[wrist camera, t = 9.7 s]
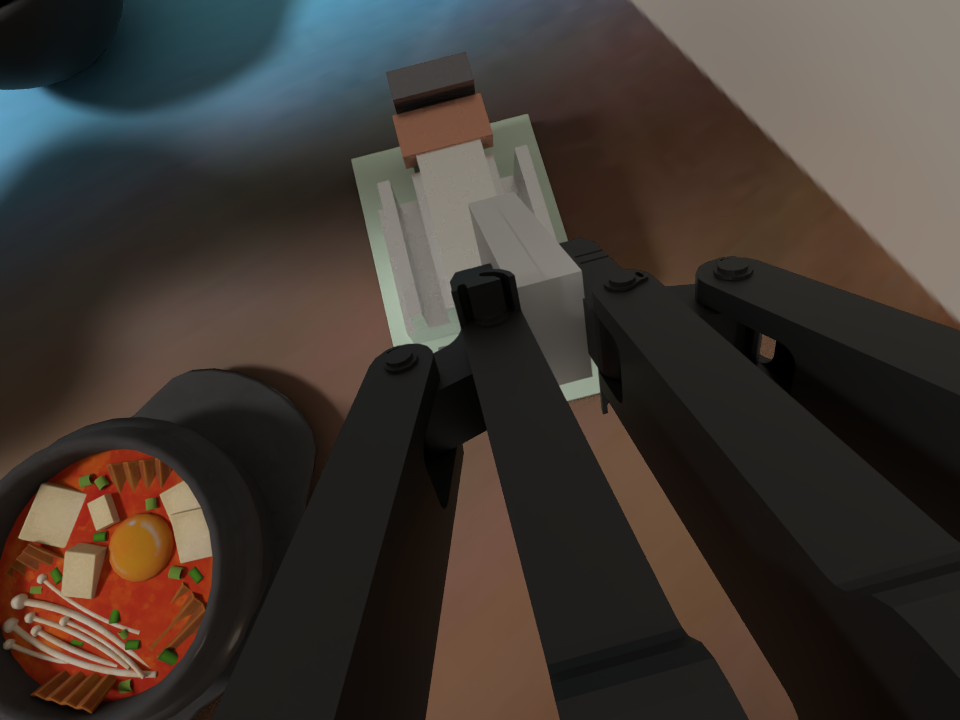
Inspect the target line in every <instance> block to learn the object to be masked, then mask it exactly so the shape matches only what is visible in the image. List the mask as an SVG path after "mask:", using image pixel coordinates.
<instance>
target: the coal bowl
mask: <svg viewBox="0 0 960 720" xmlns="http://www.w3.org/2000/svg"><path fill="white" fill-rule="evenodd" d="M122 8H123V0H0V90H15V89H30V88H36V87H42V86H47V85H51V84H54V83H57V82H60V81H63V80H65V79H68V78H70V77H72V76H74V75H76V74H77V73H79V72H81V71H82V70H84V69H85V68H87V67H88V66H89V65H91V64H92V63H93V62H94V61H95V60H96V59H97V58H98V57H99V56H100V55H101V54H102V53H103V51H104V50H105V49H106V47H107V46H108V44H109V43H110V41H111V40H112V38H113V36H114V34H115V32H116V29H117V26H118V23H119V20H120V17H121V13H122Z"/></svg>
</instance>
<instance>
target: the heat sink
mask: <svg viewBox="0 0 960 720" xmlns="http://www.w3.org/2000/svg"><path fill="white" fill-rule="evenodd" d="M386 74H387V78H388V82H389V86H390V90H391V94H392V98H393V102H394V105H395V108H396V112H397V114H401V113H404V112H408V111H412V110H416V109H420V108H424V107H428V106H432V105H436V104H439V103H443V102H447V101H451V100H455V99H459V98H463V97H467V96H471V95H474V94H475V89H474V78H473V75H472V71H471V68H470V65H469V61H468V58H467V55H466V52H463V53H459V54H455V55H451V56H448V57H444V58H440V59H436V60H432V61H428V62H424V63H420V64H416V65H412V66H409V67H405V68H401V69H397V70H393V71H389V72H386ZM485 157H486V160H487V163H488V167H489V170H490V174H491V177H492V180H493V184H494V187H495V190H496V194H497V196H499V195H503V194H506V193H510V192H515V194H516V195H517V196H518V197H519V198H520V199H521V201H522V202H523V203H524V204H525V205H526V206H527V208H528V209H529V210H530V211H531V212H532V213H533V214H534V216H535V217H536V218H537V219H538V220H539V221H540V223H541V224H542V225H543V226H544V227H545V228H546V230H547V231H548V232H549V233H550V234H551V235H552V237H553V238H554V239H555V240H556V236H555V233H554V230H553V227H552V224H551V220H550V217H549V214H548V211H547V208H546V204H545V201H544V198H543V195H542V192H541V188H540V185H539V182H538V179H537V176H536V172H535V169H534V166H533V163H532V160H531V156H530V153H529V150H528V147H527V145H523V146H519V147H515V148H514V167H513V175H512V176H508V177H504V178H500V177H499V174H498V170H497V167H496V164H495V160H494V157H493V153H492V154H488V155H485ZM414 171H415V174H411V175H412V179H413V183H414V187H415V191H416V195H417V199H418V200H415V201H411V202H407V203H404V204H400V205H399V203H398V200H397V198H396V195H395V193H394V190H393V188H392V185H391V183H390V180H387V181H384V182H380V183H377V186H378V190H379V194H380V199H381V203H382V207H383V209H380V210H378V213H379V217H380V221H381V225H382V230H383V234H384V238H385V242H386V247H387V251H388V255H389V259H390V264H391V268H392V272H393V276H394V281H395V285H396V289H397V294H398V298H399V302H400V306H401V311H402V315H403V319H404V323H405V328H406V332H407V335H408V336H409V337H410V339H411V340H412V341H413V343H414V344H416V343H419V344H420V343H424V342H428V341H432V340H435V339H439V338H443V337H447V336H451V335H455V334H458V333H460V331H461V328H460V324H459V320H458V317H457V313H456V309H455V305H454V301H453V298H452V294H451V289H450V286H449V282H448V278H447V274H446V270H445V266H444V262H443V258H442V255H441V251H440V247H439V243H438V239H437V235H436V231H435V227H434V224H433V220H432V216H431V212H430V208H429V204H428V200H427V196H426V193H425V189H424V185H423V181H422V177H421V173H420V169H419V166H417V167H414ZM556 241H557V240H556ZM446 346H448V345H446ZM446 346H442V347H439V348H438V350H441V349H442V348H444V347H446Z"/></svg>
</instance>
